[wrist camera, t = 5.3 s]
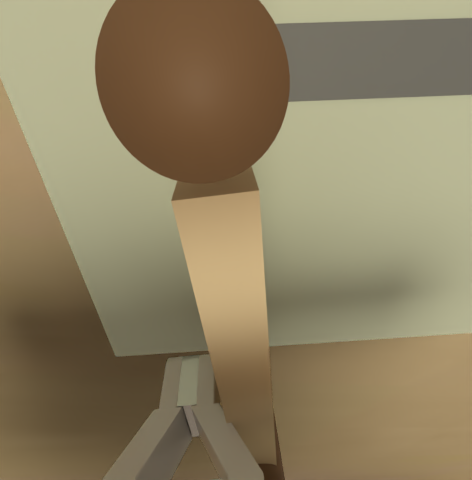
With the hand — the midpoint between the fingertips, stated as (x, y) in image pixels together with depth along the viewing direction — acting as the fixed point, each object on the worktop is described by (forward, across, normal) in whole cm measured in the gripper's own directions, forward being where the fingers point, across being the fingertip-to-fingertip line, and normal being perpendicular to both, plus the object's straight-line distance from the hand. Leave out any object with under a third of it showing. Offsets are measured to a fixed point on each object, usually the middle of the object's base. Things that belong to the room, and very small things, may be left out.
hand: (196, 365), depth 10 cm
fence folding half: (+3, -2, -2) cm, 4 cm away
